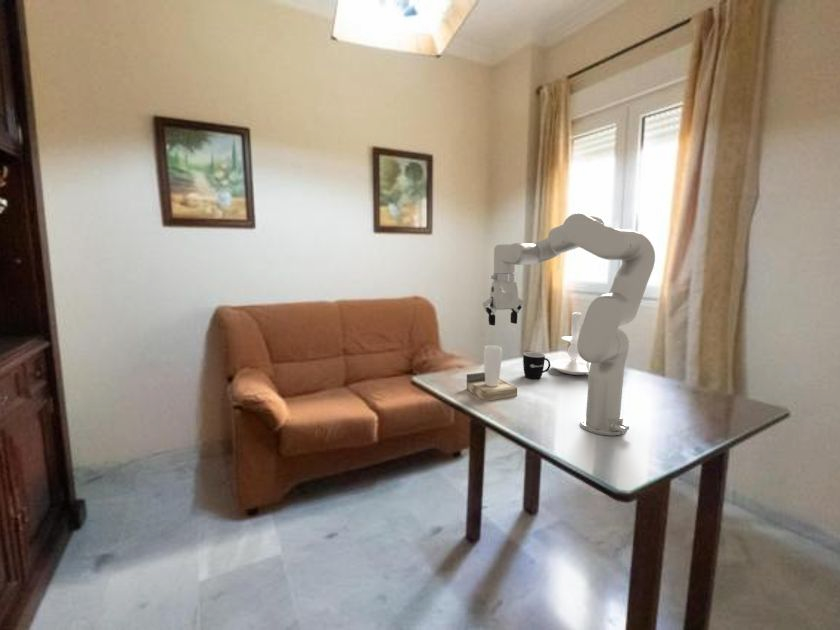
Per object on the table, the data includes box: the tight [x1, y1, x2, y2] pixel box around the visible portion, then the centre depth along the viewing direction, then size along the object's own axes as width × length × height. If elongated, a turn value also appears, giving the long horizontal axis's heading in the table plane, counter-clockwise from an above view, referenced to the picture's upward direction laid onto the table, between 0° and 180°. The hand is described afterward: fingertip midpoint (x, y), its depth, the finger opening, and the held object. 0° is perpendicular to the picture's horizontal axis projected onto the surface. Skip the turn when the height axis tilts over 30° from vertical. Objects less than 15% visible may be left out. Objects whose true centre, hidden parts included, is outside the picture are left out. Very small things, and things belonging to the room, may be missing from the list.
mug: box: [522, 351, 551, 380], centre depth 176 cm, size 12×9×10 cm
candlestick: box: [550, 311, 591, 376], centre depth 180 cm, size 21×25×28 cm
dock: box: [466, 371, 518, 402], centre depth 156 cm, size 14×14×6 cm
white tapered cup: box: [483, 344, 503, 387], centre depth 155 cm, size 7×7×15 cm
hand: (503, 324), depth 152 cm, fingers open, 9 cm apart
